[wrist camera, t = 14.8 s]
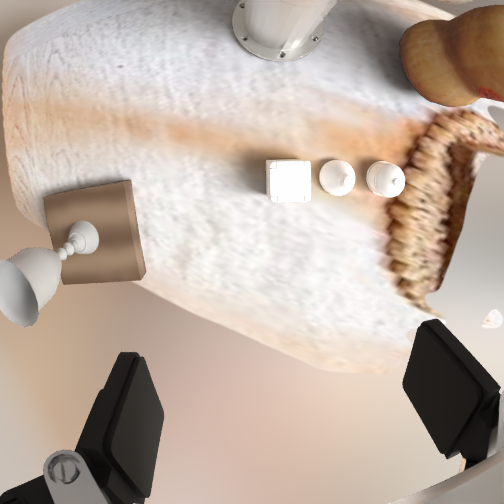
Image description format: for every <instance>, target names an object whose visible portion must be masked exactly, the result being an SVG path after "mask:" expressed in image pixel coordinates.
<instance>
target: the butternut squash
mask: <svg viewBox="0 0 504 504" xmlns="http://www.w3.org/2000/svg"><path fill="white" fill-rule="evenodd" d="M399 45H400V59H401V62H402V65H403V68H404V71H405V73H406V75H407V78H408V79H409V81H410V83H411V84H412V85H413V86H414V88H415V89H416V90H417V92H418V93H419V94H420V95H421V96H422V97H424V98H425V99H426V100H428V101H430V102H434V103H437V104H440V105H443V106H447V107H458V106H465V105H469V104H472V103H473V102H475V101H476V100H478V99H479V98H487V99H492V100H496V101H500V102H504V5H492V6H485V7H479V8H474V9H472V10H470V11H468V12H465V13H464V14H461V15H460V16H458V17H456V18H454V19H452V20H449V21H446V20H426V21H422V22H419V23H417V24H415V25H413V26H411V27H410V28H408V29H407V30H406V31H405V32H404V34H403V36H402V38H401V40H400V42H399Z"/></svg>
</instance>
